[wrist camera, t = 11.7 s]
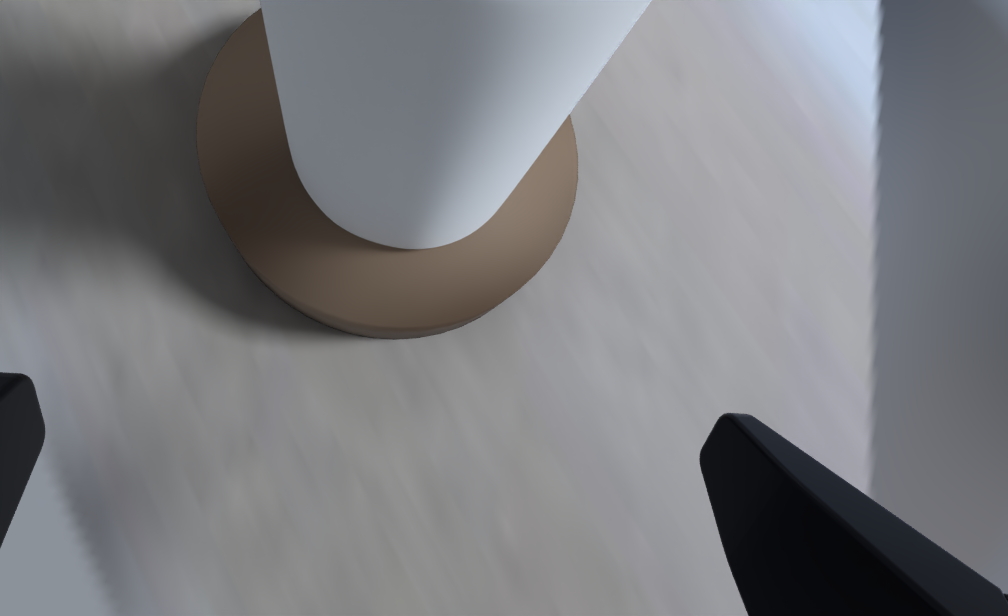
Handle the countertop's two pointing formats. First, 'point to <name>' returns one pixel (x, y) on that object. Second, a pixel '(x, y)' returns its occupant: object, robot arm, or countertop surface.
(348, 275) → the walnut stand
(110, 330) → the countertop surface
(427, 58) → the can
